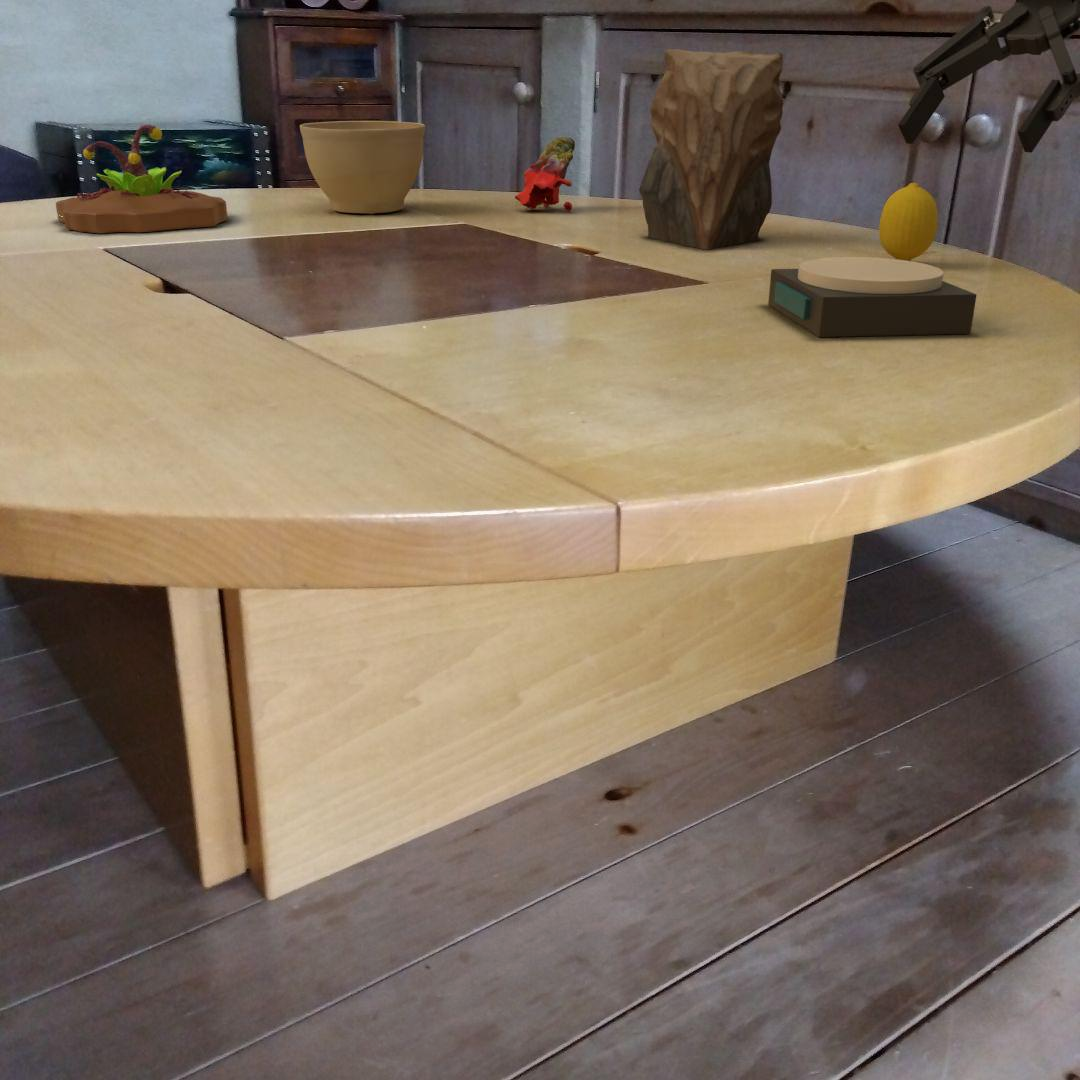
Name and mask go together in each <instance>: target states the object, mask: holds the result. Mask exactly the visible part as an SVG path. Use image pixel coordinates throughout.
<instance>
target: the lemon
mask: <svg viewBox="0 0 1080 1080" xmlns="http://www.w3.org/2000/svg"><path fill="white" fill-rule="evenodd" d="M938 224H939V214H938V207H937V203H936V201H935V199H934V197H933V195H932V194H931V193H930V192H929V191H927V190H926V189H925V188H923V187H920V186H919V184H918V183H917V182H910V183H909V184H908V185H906V186H904V187H902V188H899V189H898V190H896V191H895V192H893V193H892V195H890V196H889V197H888V199H887V200H886V202H885V204H884V205H883V209H882V211H881V214H880V218H879V224H878V236H879V237H878V238H879V241H880V245H881V246H882V248H883V250H884V251H885V252H886V254H888V255H889V256H891V257H893V259H897V260H905V261H912V260H913V259H916V258H918V257H920V256H922V255H923V254H924V253H925V252H927V250H928V249H929V248H930V247H931V246H932V244H933V242H934V239H935V238H936V235H937V229H938Z"/></svg>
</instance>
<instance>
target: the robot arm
mask: <svg viewBox="0 0 1080 1080" xmlns="http://www.w3.org/2000/svg"><path fill="white" fill-rule="evenodd" d="M1079 31H1080V0H1015V2H1014V4H1013V5H1012V6H1011V7H1010V8H1008V9H1007V10H1006V11H1005V12H1004V13H998V12H993V8H992V6H991V5H986V6H984V7H982V8H981V9H980V10H979V11H978V12H977V13H976V15H975V16H974V17H973V19H972V20H971V21H970V22H969V23H967V24H966V25H965V26H964V27H962V29H960V30H959V31H957V32H956V33H955V34H954V35H952V37H950V38H949V39H948V40H946V41H945V42H944V43H942V44H941V45H940V46H939V47H937V48H936V49H935V50H934V51H933V52H931V53H930V54H929V55H928V56H926V57H924V59H922V60H921V61H920V62H919V63H917V64H916V65H915V66H914V67H913V69H912V72H913V74H914V76H915V78H916V81H917V83H918V88H917V90H916V91H915V92H914V94H913V96H911V98H910V100H909V104H908V105H909V108H908V110H907V111H906V112H905V114H904V115H903V117H902V118H901V120H900V121H899V122H898V124H897V126H898V128H899V131H900V132H901V135H902V137H903V139H904V141H905V143H906V144H909V145H913V144H914V142H915V141H916V140H917V138H918V137H919V135H920V134H921V132H922V131H923V129H924V128H925V126H926V125H927V124H928V122H929V121H930V119H931V118H932V116H933V115H934V113H935V112H936V110H937V109H938V107H939V106H940V104H942V102H943V100H944V98H945V97H946V95H945V94H944V91H945V90H947V89H948V88H950V87H952V86H953V85H955V84H957V83H959V82H960V81H962V80H964V79H965V78H967V77H969V76H970V75H972V74H974V73H976V72H977V71H979V70H981V69H982V68H984V67H986V66H987V65H989V64H991V63H993V62H994V61H997V62H1002V61H1003V60H1005V59H1007V58H1008V57H1010V56H1021V55H1026V54H1027V55H1028V54H1029V55H1031V56H1042V54H1043V53H1046V52H1048V51H1050V52H1051V54H1052V57H1053V60H1054V62H1055V65H1056V69H1057V70H1058V73H1059V75H1060V78H1061V80H1060V79H1051V81H1050V82H1049V84H1048V85H1047V86H1046V88H1045V90H1044V91H1043V93H1042V94H1041V96H1040V97H1039V99H1038V100H1037V101H1036V103H1035V105H1034V106H1033V107H1032V109H1031V111H1030V112H1029V114H1028V115H1027V116H1026V118H1025V119H1024V121H1023V123H1022V124H1021V125H1020V127H1019V128H1018V130H1017V135H1018V138H1019V140H1020V143H1021V146H1022V149H1023V152H1024V153H1033V152H1034V150H1035V149H1036V147H1037V146H1038V144H1039V143H1040V141H1041V140H1042V139H1043V137H1044V135H1045V134H1046V132H1047V131H1048V129H1049V128H1050V126H1052V125H1051V124H1052V123H1053V122H1059V121H1060V120H1061V119H1062V118H1063V117H1064V115H1065V114H1066V112H1067V111H1068V110H1069V108H1070V106H1071V105H1072V104H1073V102H1074V100H1076V99H1077V98H1079V97H1080V73H1077V71H1076V69H1075V66H1074V64H1073V62H1072V59H1071V56H1070V54H1069V51H1068V49H1067V45H1066V43H1065V40H1067V39H1069V38H1070V37H1072V36H1074V35H1075V34H1076V33H1078V32H1079ZM1001 35H1002V38H1003V41H1004V44H1005V45H1004V46H1002V47H1001V44H1000V41H999V37H1000V36H1001ZM1061 81H1062V83H1061Z"/></svg>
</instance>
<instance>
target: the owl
mask: <svg viewBox="0 0 1080 1080" xmlns="http://www.w3.org/2000/svg"><path fill="white" fill-rule="evenodd" d="M783 56H784V54H783V53H782V52H781V51H778V52H776V53H773V54H767V53H763V52H759V53H755V52H752V51H749V50H746V51H744V50H735V51H727V52H713V51H691V50H687V49H682V48H681V49H677V48H668V49H666V50H665V51H664V61H665V63H666V68H665V72H664V75H663V77H662V78H661V82H660V83H659V85H658V87H657V89H656V90H655V91H654V92H653V99H652V103H651V107H650V115H651V116H650V117H651V118H650V122H649V125H650V127H651V129H652V132H653V134H654V138H655V140H656V144H655V145H654V147H653V149H652V151H653V153H652V154H651V157H650V158H649V160H648V163H647V166H646V169H645V172H644V175H643V177H642V180H641V183H640V185H639V188H638V192H639V194H640V196H641V199H642V200H641V201H642V207H643V212H644V217H645V222H646V225H647V232H648V233H647V238H648V239H654V240H659V241H660V240H661V241H663V242H667V243H673V244H677V245H681V246H683V247H691V248H696V249H701V250H707V251H709V250H712V249H718V248H723V247H729V246H732V245H741V244H744V243H749V242H758V241H759V240H760V238H759V237H760V236H759V233H760V230H761V228H762V227H763V225H764V222H765V220H766V218H767V216H768V215H769V214H770V212H771V209H772V203H773V196H772V195H773V194H772V193H773V192H772V191H773V190H772V176H771V175H772V174H771V166H770V161H771V157H772V152H773V150H774V146H775V143H776V141H777V138H778V136H779V135H780V133H781V131H782V124H781V120H782V117H783V107H784V96H783V94H782V92H781V89H780V88H781V87H780V76H781V75H782V73H783V65H784V60H783V59H784V57H783Z"/></svg>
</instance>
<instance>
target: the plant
mask: <svg viewBox="0 0 1080 1080" xmlns="http://www.w3.org/2000/svg"><path fill="white" fill-rule="evenodd" d="M143 132H147V134H148V136H149V137H150V138H151V139H152V140H155V141H158V140H162V136H163V132H162V130H161V129H160V128H159V127H157V126H156V125H151V124H144V125H140V127H138V129H136V132H135V134H134V136H133V138H132V141H131V143H130V145H131V148H130V149H131V150H130V153H128V155H127V154H125V153H124V152H123V151H122V150H121V149H120V148H119V147H117V146H116V145H115V144H111V143H110V142H106V141H105V140H104V141H102V140H100V141H99V140H97V141H96V142H93V143H91V144H88V145H87V146H85V148H84V149H83V152H82V153H83V157H84V158H85V159H87V160H88V161H90V160H92V159H93V158H94V157H95V148H96V147H102V148H106V149H108V150H109V151H110V152H112V154H113V156H115V157H116V158H117V160H118V164H119V165H120V170H121V171H122V172H123V173H120V172H119V171H116V170H112V169H109V168H106V169H103V172H104V174H105V175H103V174H100V173H96V176H97V177H98V178H100V180H101V181H103V182H104V183H106V184H107V185H108V187H109V188H106V187H104V186H103V188H102V187H100V190H99V191H95V192H92V193H90V192H87V193H82V192H77V194H76V197H75V196H74V197H70V198H66V199H60V200H57V201H56V202H55V208H56V209H55V210H56V215H57V214H58V215H57V221H59V222H60V223H62V224H64V227H65V228H66V229H67V230H68V231H75V232H81V233H91V234H99V235H100V234H101V235H102V234H111V233H113V234H114V233H152V232H164V231H173V230H175V231H176V230H185V229H187V230H188V229H198V228H199V229H200V228H211V227H216V226H217V225H218V224H221V223H224V222H226V221H227V220H228V211H227V210H228V208H227V207H228V206H227V201H226V200H224V199H223V198H222V197H220V196H211V195H208V194H205V193H202V192H197V191H191V190H186V188H185V190H180V189H177V190H175V189H174V188H173V187H172V184H173V183H174V180H175V179H176V178H179V176H180V175H181V173H182V172H183V171H182V170H180V171H179V170H178V171H176V172H174V173H172V174H171V175H170V176H168V178H167V179H165V181H164V180H163V178H164V176H165V175H166V171H167V167H165V166H164V167H161V168H160V167H158V166H157V167H154V168H150V169H148V170H147V169H146V168H145V165H144V164H143V158H142V155H141V150H140V149H141V148H140V141H141V136H142V133H143ZM163 181H164V182H163ZM59 215H60V216H59ZM61 216H63V217H61Z"/></svg>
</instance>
